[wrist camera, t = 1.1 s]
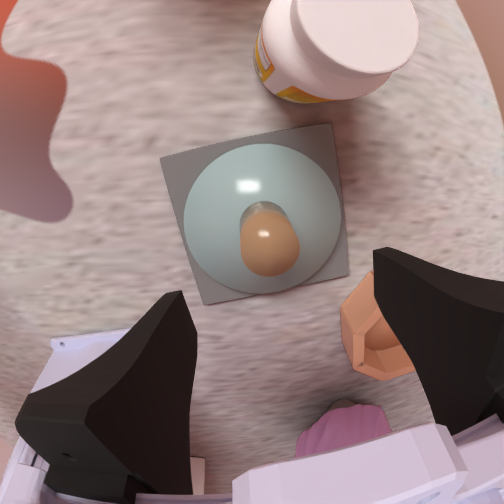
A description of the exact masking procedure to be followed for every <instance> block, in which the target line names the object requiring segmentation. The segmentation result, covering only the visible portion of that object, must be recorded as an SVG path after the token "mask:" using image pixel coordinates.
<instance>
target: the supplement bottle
mask: <svg viewBox="0 0 504 504" xmlns="http://www.w3.org/2000/svg"><path fill="white" fill-rule="evenodd" d="M418 40H419V23H418V19H417V15H416V12H415V10H414V8H413V6H412V3H411V2H410V0H272V1H271V2H270V4H269V6H268V8H267V10H266V12H265V15H264V17H263V21H262V24H261V28H260V30H259V34H258V37H257V40H256V44H255V47H254V56H253V57H254V66H255V70H256V72H257V75H258V77H259V79H260V80H261V82H262V83H263V84H264V86H265V87H266V88H267V89H268V90H269V91H271V92H272V93H273V94H275V95H276V96H278V97H280V98H282V99H284V100H287V101H290V102H294V103H301V104H310V103H318V102H326V101H336V100H347V99H353V98H357V97H361V96H364V95H367V94H369V93H371V92H373V91H375V90H376V89H378V88H379V87H380V86H381V85H383V84H384V83H385V82H386V81H387V79H388V78H389V77H390V75H391V74H392V72H393V71H395V70H397V69H399V68H401V67H402V66H404V65H405V64H406V63H407V62H408V61H409V60H410V58H411V57H412V56H413V54H414V53H415V50H416V48H417V45H418Z"/></svg>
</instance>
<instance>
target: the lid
mask: <svg viewBox="0 0 504 504" xmlns="http://www.w3.org/2000/svg"><path fill="white" fill-rule="evenodd" d="M340 224H341V209H340V203H339V199H338V196H337V193H336V190H335V188H334V186H333V184H332V182H331V180H330V179H329V177H328V176H327V174H326V173H325V172H324V171H323V170H322V169H321V167H320V166H319V165H317V164H316V163H315V162H314V161H313V160H311V159H310V158H308V157H307V156H305V155H304V154H302V153H300V152H299V151H296V150H294V149H292V148H289V147H286V146H282V145H278V144H271V143H255V144H248V145H244V146H240V147H237V148H234V149H232V150H230V151H227V152H225V153H224V154H222V155H220V156H219V157H217V158H216V159H215V160H214V161H212V162H211V163H210V164H209V165H208V166H207V167H206V168H205V169H204V170H203V171H202V172H201V174H200V175H199V176H198V178H197V179H196V181H195V183H194V185H193V187H192V188H191V190H190V192H189V195H188V198H187V201H186V205H185V210H184V232H185V237H186V241H187V244H188V247H189V249H190V251H191V253H192V255H193V257H194V259H195V260H196V261H197V263H198V264H199V266H200V267H201V268H202V269H203V270H204V271H205V272H206V273H207V274H208V275H209V276H211V277H212V278H213V279H215V280H216V281H218V282H219V283H221V284H223V285H225V286H227V287H229V288H232V289H235V290H238V291H242V292H247V293H257V294H261V293H273V292H279V291H282V290H286V289H289V288H291V287H294V286H296V285H298V284H300V283H302V282H304V281H305V280H306V279H308V278H309V277H311V276H312V275H313V274H314V273H315V272H317V271H318V270H319V269H320V268H321V266H322V265H323V264H324V263H325V262H326V260H327V259H328V257H329V256H330V254H331V253H332V251H333V249H334V247H335V244H336V242H337V239H338V235H339V231H340Z"/></svg>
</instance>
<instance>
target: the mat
mask: <svg viewBox="0 0 504 504" xmlns="http://www.w3.org/2000/svg"><path fill="white" fill-rule="evenodd" d="M255 143H271V144H278V145H282V146H286V147H289V148H292V149H294V150H296V151H299V152H300V153H302V154H304V155H305V156H307V157H308V158H310V159H311V160H313V161H314V162H315V163H316V164H317V165H319V166H320V167H321V169H322V170H323V171H324V172H325V173H326V174H327V176H328V177H329V179H330V180H331V182H332V184H333V186H334V188H335V190H336V193H337V196H338V199H339V203H340V209H341V224H340V231H339V235H338V239H337V242H336V244H335V247H334V249H333V251H332V253H331V254H330V256H329V257H328V259H327V260H326V262H325V263H324V264H323V265H322V266H321V268H320V269H319V270H318V271H317V272H315V273H314V274H313V275H312V276H311V277H309V278H308V279H306V280H305V281H304V282H302V283H300V284H298V285H296V286H294V287H297V286H302V285H306V284H311V283H315V282H320V281H324V280H329V279H333V278H337V277H342V276H346V275H349V268H348V254H347V242H346V231H345V220H344V211H343V201H342V193H341V185H340V177H339V169H338V162H337V155H336V148H335V142H334V135H333V129H332V123H325V124H318V125H311V126H305V127H299V128H293V129H287V130H281V131H275V132H270V133H265V134H259V135H254V136H249V137H245V138H240V139H235V140H231V141H226V142H222V143H217V144H213V145H209V146H205V147H200V148H196V149H192V150H188V151H185V152H181V153H177V154H173V155H170V156H166V157H162V158H160V162H161V166H162V170H163V174H164V177H165V181H166V184H167V188H168V192H169V195H170V199H171V202H172V206H173V209H174V213H175V216H176V219H177V223H178V226H179V229H180V233H181V236H182V239H183V243H184V246H185V249H186V252H187V255H188V259H189V262H190V265H191V268H192V271H193V274H194V277H195V280H196V284H197V287H198V290H199V293H200V296H201V299H202V302H203V305H207V304H213V303H218V302H223V301H228V300H234V299H239V298H244V297H249V296H254V295H259V294H257V293H247V292H242V291H238V290H235V289H232V288H229V287H227V286H225V285H223V284H221V283H219V282H218V281H216V280H215V279H213V278H212V277H211V276H209V275H208V274H207V273H206V272H205V271H204V270H203V269H202V268H201V267H200V266H199V264H198V263H197V261H196V260H195V259H194V257H193V255H192V253H191V251H190V249H189V247H188V244H187V241H186V237H185V232H184V210H185V205H186V201H187V198H188V195H189V192H190V190H191V188H192V187H193V185H194V183H195V181H196V179H197V178H198V176H199V175H200V174H201V172H202V171H203V170H204V169H205V168H206V167H207V166H208V165H209V164H210V163H211V162H212V161H214V160H215V159H216V158H217V157H219V156H220V155H222V154H224V153H225V152H227V151H230V150H232V149H234V148H237V147H240V146H244V145H248V144H255ZM291 288H292V287H291ZM261 294H264V293H261Z"/></svg>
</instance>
